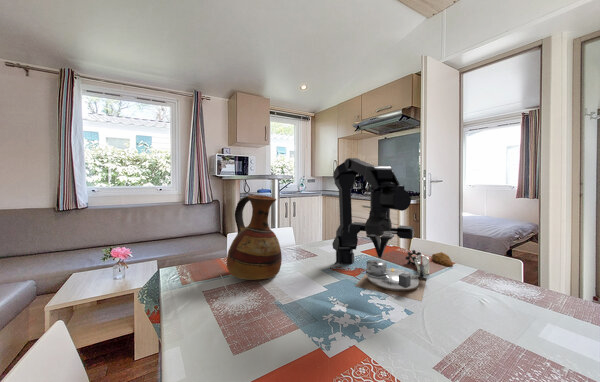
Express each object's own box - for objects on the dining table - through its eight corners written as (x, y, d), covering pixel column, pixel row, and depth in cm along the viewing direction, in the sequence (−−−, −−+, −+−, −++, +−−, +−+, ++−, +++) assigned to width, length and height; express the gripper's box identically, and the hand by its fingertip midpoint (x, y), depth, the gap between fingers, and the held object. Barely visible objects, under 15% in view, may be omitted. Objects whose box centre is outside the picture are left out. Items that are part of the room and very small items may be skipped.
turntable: (402, 296, 68) (402, 280, 68) (358, 279, 80) (358, 265, 80) (427, 281, 77) (427, 267, 77) (384, 268, 90) (384, 256, 89)
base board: (354, 289, 76) (354, 285, 76) (371, 270, 92) (371, 266, 92) (421, 304, 66) (421, 300, 66) (427, 280, 82) (427, 276, 82)
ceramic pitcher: (267, 290, 76) (265, 196, 74) (214, 282, 82) (212, 195, 81) (290, 269, 94) (288, 193, 93) (245, 264, 101) (243, 193, 100)
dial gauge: (414, 278, 81) (414, 255, 81) (415, 275, 84) (415, 252, 83) (428, 280, 79) (428, 256, 79) (428, 277, 81) (428, 254, 81)
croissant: (425, 258, 105) (425, 247, 105) (441, 259, 105) (441, 247, 104) (441, 270, 92) (441, 257, 91) (459, 270, 91) (459, 257, 91)
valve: (435, 278, 84) (422, 266, 96) (435, 259, 83) (422, 249, 95) (415, 277, 84) (404, 265, 96) (415, 259, 84) (404, 249, 96)
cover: (379, 280, 76) (379, 267, 75) (361, 274, 81) (361, 262, 81) (391, 274, 80) (391, 262, 80) (373, 269, 85) (373, 257, 85)
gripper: (341, 208, 72) (342, 259, 72) (409, 211, 62) (409, 271, 62) (354, 205, 81) (354, 250, 82) (414, 207, 71) (414, 259, 72)
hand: (380, 257), depth 74 cm, fingers closed
